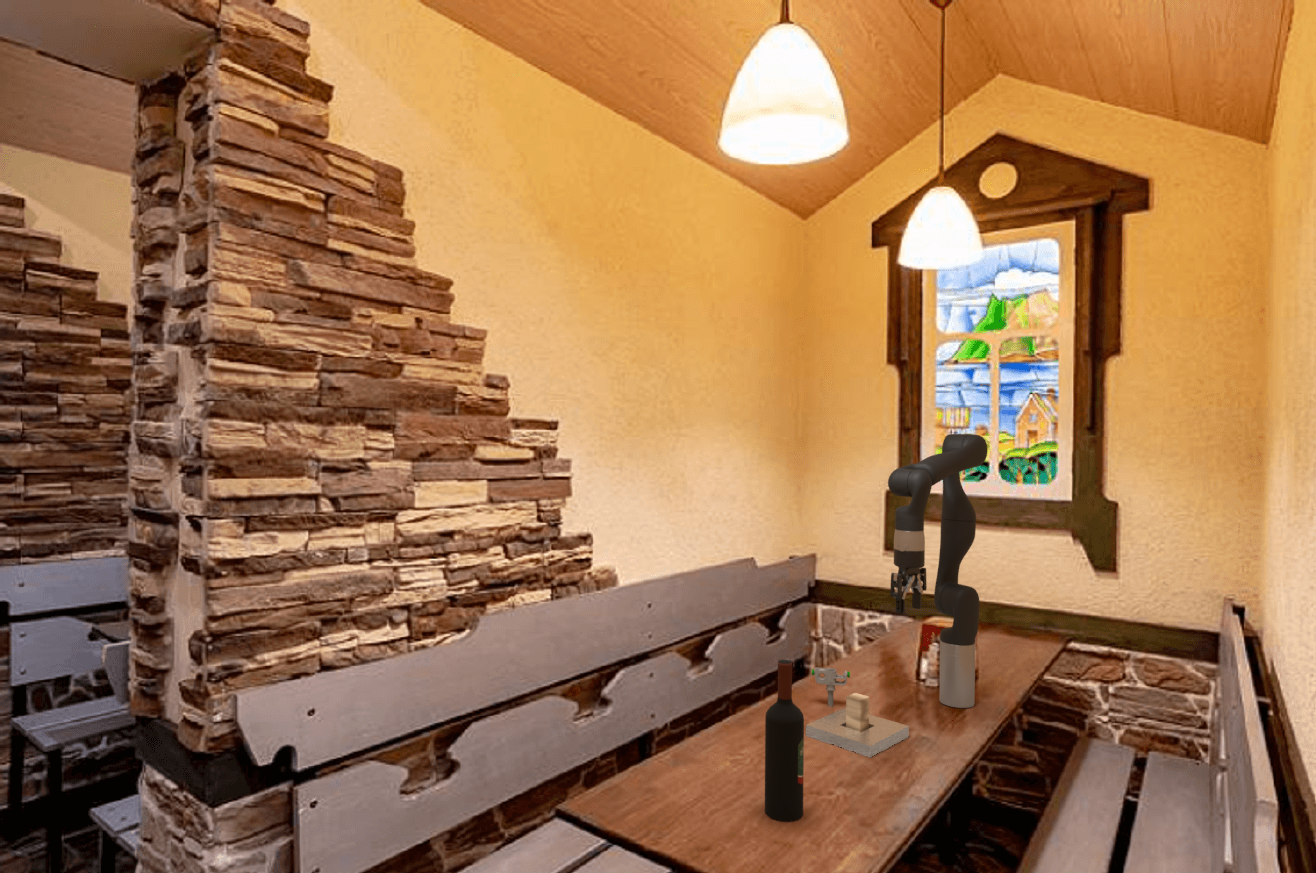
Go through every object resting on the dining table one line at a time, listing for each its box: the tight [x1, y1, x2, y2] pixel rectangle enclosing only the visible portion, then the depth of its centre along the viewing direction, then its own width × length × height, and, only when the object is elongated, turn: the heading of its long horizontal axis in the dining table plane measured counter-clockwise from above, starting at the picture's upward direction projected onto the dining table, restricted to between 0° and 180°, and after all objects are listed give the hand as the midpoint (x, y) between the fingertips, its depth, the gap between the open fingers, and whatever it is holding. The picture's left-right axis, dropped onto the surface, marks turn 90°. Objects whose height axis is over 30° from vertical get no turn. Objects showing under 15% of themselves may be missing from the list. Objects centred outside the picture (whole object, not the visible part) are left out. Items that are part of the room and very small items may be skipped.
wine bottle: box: [764, 659, 805, 823], centre depth 157 cm, size 8×8×30 cm
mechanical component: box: [811, 666, 851, 708], centre depth 218 cm, size 3×10×10 cm, turn 78°
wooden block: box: [845, 692, 870, 732], centre depth 196 cm, size 4×4×10 cm
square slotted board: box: [805, 707, 910, 759], centre depth 196 cm, size 18×18×3 cm
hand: (908, 611), depth 201 cm, fingers open, 8 cm apart
